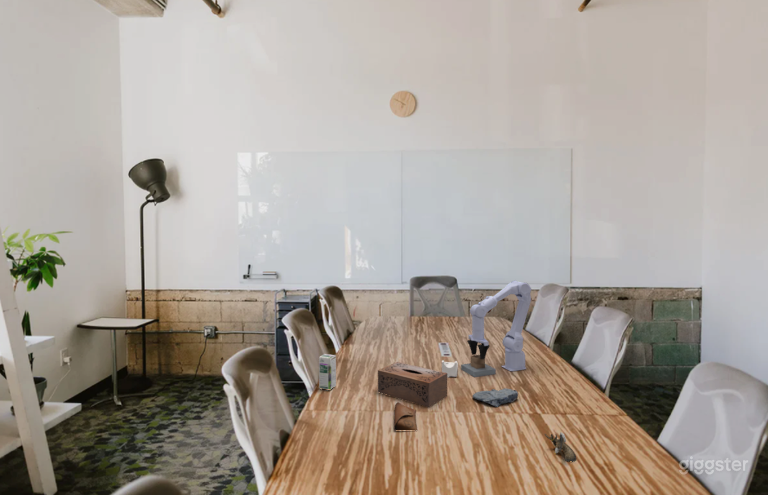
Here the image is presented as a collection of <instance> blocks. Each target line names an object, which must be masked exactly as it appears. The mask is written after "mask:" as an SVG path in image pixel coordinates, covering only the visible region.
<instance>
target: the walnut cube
mask: <svg viewBox="0 0 768 495" xmlns="http://www.w3.org/2000/svg"><path fill="white" fill-rule="evenodd" d="M470 363H471V366H472V367H474V368H476V369H479V368H485V364H486V358H485V359H480V354H476V355H470Z"/></svg>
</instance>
